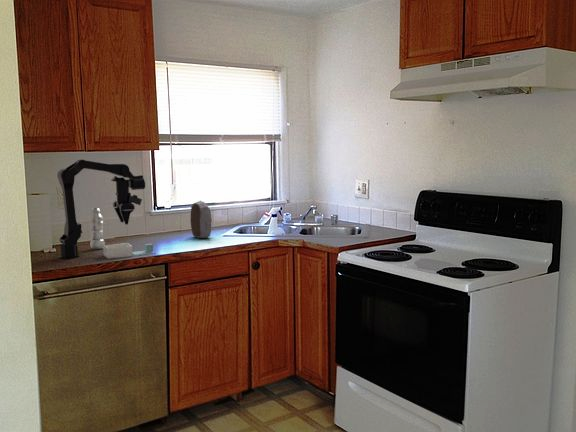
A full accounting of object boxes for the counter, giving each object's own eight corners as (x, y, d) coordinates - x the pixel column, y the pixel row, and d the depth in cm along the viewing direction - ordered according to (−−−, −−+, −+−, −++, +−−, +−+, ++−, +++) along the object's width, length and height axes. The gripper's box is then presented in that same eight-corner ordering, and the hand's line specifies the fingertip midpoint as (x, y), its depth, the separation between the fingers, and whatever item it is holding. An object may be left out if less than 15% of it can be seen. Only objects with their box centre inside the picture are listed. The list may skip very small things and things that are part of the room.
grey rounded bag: (189, 236, 303) (188, 200, 300) (203, 235, 308) (201, 199, 305) (202, 240, 291) (201, 202, 288) (216, 238, 296) (215, 201, 293)
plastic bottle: (88, 249, 269) (85, 208, 267) (101, 247, 274) (99, 207, 271) (94, 250, 265) (91, 209, 262) (107, 249, 269) (105, 208, 267)
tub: (107, 258, 245) (107, 248, 245) (103, 255, 253) (103, 245, 253) (132, 255, 251) (132, 245, 250) (128, 252, 258) (127, 243, 258)
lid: (134, 256, 252) (134, 247, 251) (131, 253, 258) (130, 244, 258) (155, 254, 256) (154, 245, 256) (150, 251, 263) (150, 242, 262)
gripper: (144, 190, 257) (146, 224, 259) (135, 188, 273) (136, 220, 275) (120, 192, 252) (122, 226, 254) (111, 189, 268) (113, 221, 270)
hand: (124, 223), depth 263 cm, fingers open, 9 cm apart
